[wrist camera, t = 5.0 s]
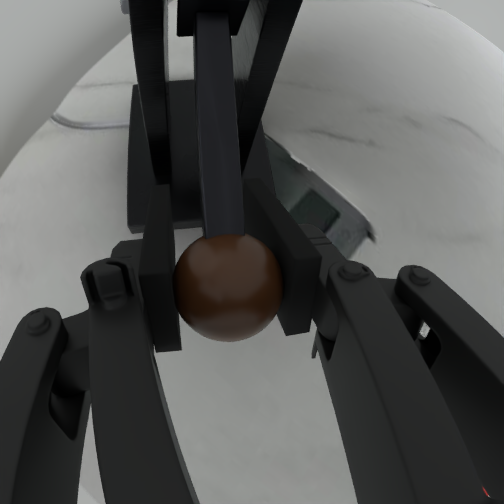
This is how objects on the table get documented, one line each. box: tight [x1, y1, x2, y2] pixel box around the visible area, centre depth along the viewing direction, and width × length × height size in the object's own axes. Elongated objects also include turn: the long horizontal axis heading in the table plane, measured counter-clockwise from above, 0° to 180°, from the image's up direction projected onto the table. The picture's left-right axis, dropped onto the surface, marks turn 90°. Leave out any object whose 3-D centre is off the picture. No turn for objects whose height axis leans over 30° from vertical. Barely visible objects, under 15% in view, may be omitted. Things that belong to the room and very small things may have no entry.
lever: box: [173, 0, 284, 342], centre depth 9 cm, size 13×3×3 cm, turn 8°
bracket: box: [121, 0, 303, 234], centre depth 13 cm, size 10×8×13 cm
